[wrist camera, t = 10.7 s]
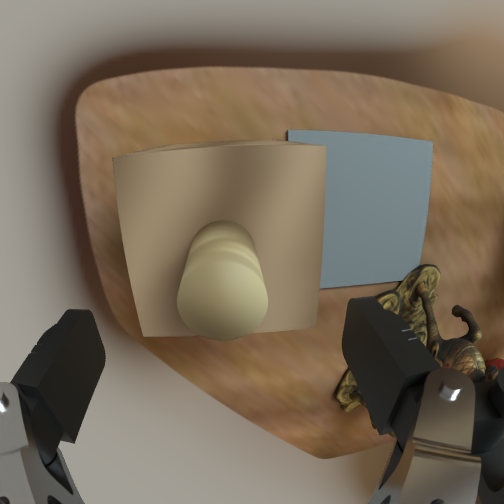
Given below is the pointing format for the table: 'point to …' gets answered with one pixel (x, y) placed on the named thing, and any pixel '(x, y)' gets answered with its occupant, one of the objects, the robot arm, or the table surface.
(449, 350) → the figurine
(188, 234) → the cover
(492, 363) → the onion
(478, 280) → the table surface
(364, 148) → the mat
